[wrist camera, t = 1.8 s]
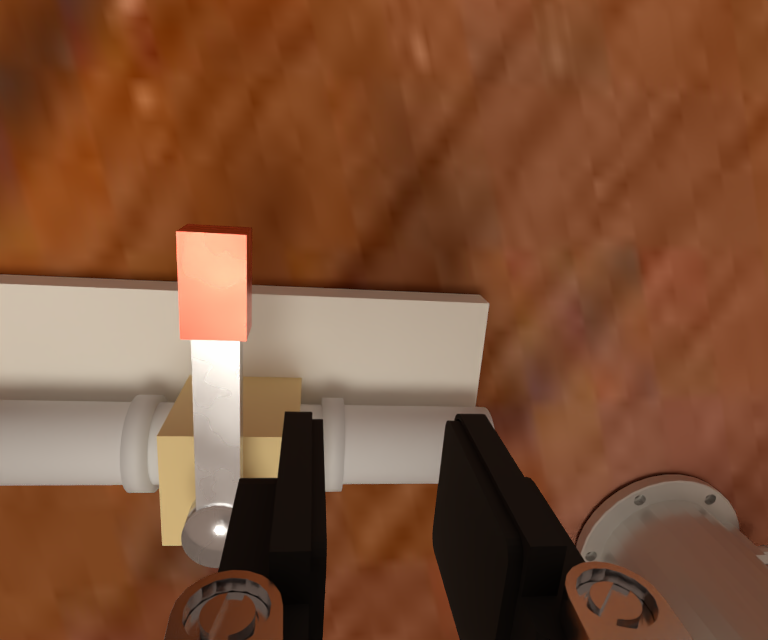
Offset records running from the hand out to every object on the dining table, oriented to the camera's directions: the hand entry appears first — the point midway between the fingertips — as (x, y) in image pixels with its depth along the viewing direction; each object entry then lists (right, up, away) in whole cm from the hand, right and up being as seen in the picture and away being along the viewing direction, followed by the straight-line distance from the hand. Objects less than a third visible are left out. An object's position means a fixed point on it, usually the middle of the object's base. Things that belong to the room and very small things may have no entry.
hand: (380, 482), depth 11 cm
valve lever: (-7, 0, +12) cm, 14 cm away
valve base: (-8, 0, +24) cm, 25 cm away
